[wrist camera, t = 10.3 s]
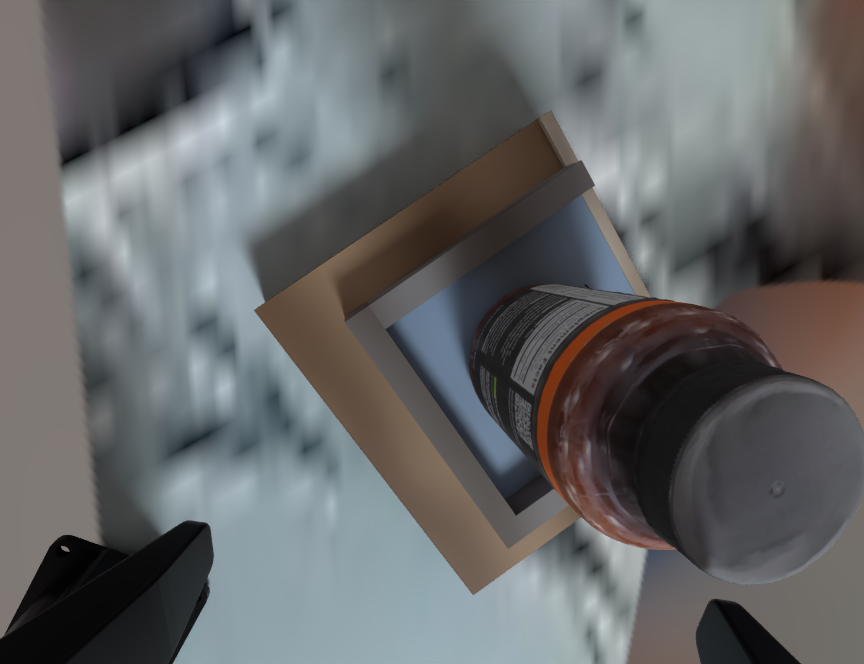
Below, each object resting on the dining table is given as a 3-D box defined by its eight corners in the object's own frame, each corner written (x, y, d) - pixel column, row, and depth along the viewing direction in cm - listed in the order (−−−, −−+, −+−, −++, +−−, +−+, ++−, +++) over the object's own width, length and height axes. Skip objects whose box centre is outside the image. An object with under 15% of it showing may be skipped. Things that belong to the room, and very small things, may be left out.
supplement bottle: (631, 368, 20) (964, 509, 9) (517, 455, 20) (721, 702, 9) (558, 249, 19) (847, 251, 8) (434, 341, 19) (557, 472, 8)
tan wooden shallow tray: (459, 559, 24) (482, 621, 20) (264, 302, 20) (245, 316, 16) (677, 403, 24) (740, 433, 20) (524, 127, 21) (565, 100, 17)
